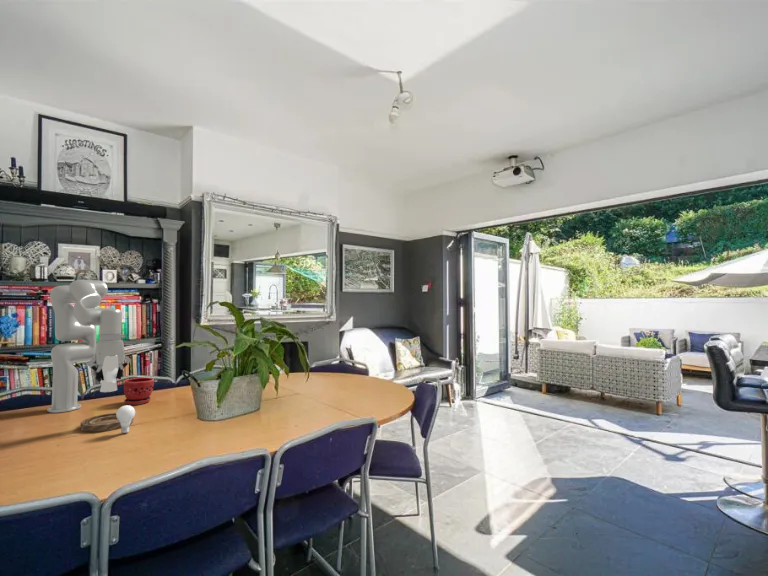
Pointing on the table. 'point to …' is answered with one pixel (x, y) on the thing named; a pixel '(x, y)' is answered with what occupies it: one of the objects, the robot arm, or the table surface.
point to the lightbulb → (125, 417)
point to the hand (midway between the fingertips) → (109, 379)
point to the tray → (101, 423)
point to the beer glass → (109, 374)
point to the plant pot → (138, 390)
